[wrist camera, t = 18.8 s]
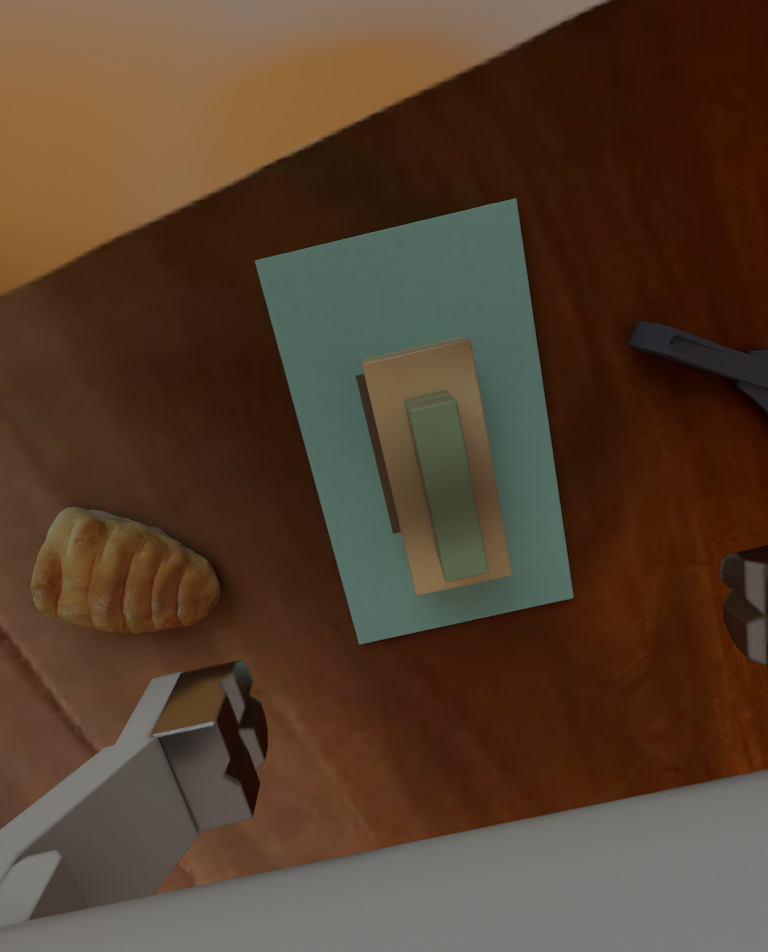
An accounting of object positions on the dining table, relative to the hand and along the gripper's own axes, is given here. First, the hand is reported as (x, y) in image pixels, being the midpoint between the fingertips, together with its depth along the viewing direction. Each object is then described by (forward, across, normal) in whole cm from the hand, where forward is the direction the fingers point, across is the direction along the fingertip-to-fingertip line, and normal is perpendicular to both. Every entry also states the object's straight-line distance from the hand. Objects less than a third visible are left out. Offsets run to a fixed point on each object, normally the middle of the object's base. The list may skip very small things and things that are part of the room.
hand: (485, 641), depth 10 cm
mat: (+22, -1, +2) cm, 22 cm away
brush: (+21, -1, +3) cm, 22 cm away
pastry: (+22, +17, +5) cm, 28 cm away
